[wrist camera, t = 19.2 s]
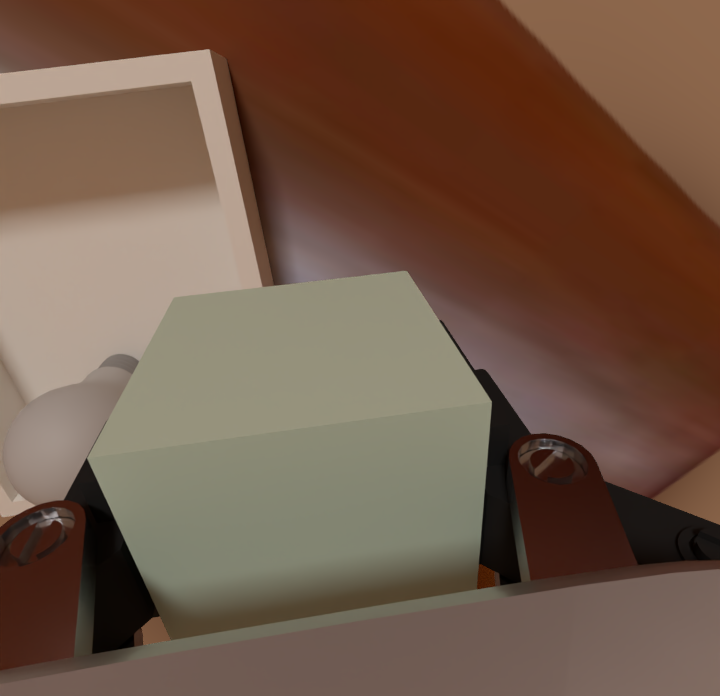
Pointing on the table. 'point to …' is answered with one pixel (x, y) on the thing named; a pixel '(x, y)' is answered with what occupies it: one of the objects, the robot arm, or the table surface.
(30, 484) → the lightbulb
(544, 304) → the table surface
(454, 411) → the sage cube
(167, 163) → the tote
